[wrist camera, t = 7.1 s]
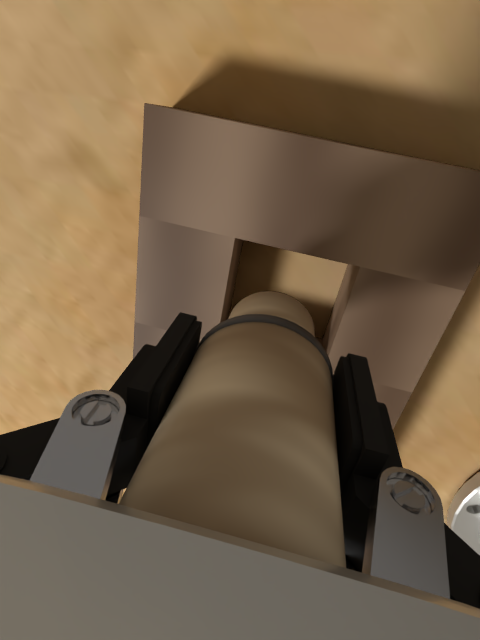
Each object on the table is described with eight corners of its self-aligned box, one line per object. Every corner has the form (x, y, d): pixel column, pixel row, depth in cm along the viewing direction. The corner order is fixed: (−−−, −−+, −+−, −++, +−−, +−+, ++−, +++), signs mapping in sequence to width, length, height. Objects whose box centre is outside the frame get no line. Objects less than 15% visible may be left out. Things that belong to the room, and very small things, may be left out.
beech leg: (345, 293, 13) (408, 618, 4) (311, 389, 15) (310, 733, 7) (223, 264, 14) (61, 518, 5) (207, 363, 16) (75, 660, 7)
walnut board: (488, 172, 16) (523, 180, 13) (333, 498, 26) (335, 540, 24) (171, 107, 17) (144, 103, 14) (145, 446, 27) (127, 480, 25)
